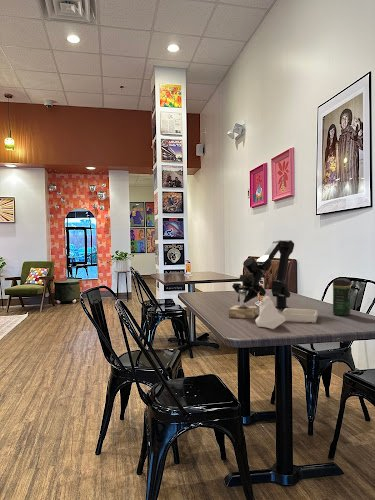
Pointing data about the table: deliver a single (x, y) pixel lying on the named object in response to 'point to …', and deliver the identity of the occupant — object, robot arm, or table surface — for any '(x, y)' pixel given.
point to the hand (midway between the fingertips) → (241, 302)
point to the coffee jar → (341, 296)
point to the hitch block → (243, 312)
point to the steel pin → (242, 296)
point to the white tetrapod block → (269, 315)
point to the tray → (300, 315)
